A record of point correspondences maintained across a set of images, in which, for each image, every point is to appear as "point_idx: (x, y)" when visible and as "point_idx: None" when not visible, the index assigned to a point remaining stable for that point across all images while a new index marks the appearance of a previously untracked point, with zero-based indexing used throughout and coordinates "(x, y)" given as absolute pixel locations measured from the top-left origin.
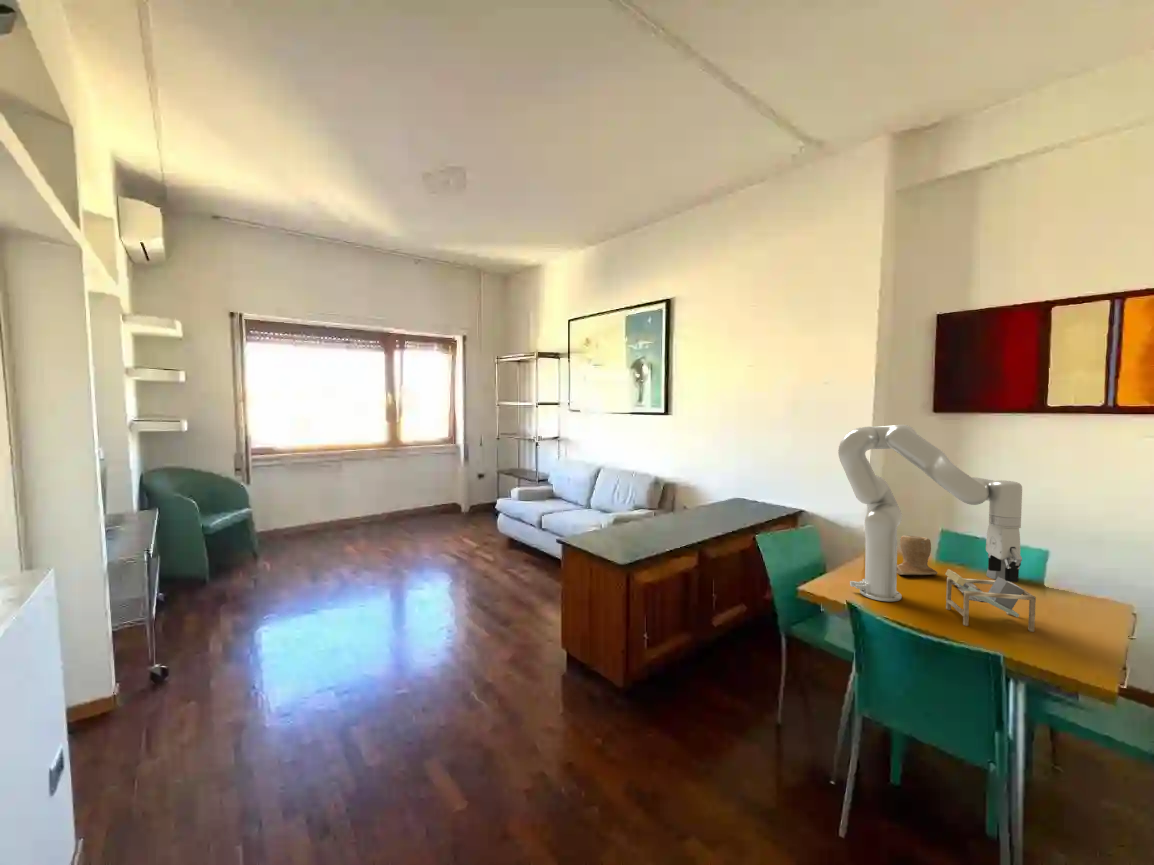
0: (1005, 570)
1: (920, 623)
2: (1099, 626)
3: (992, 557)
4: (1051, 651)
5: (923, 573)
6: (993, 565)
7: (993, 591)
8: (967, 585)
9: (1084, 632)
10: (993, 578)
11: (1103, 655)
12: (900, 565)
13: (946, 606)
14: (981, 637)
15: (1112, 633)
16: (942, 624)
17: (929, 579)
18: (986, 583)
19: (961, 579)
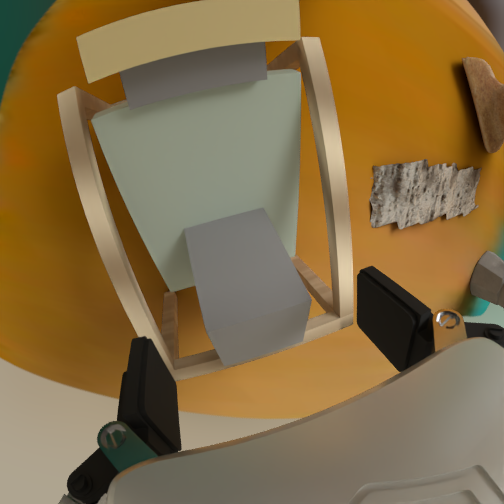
0: (129, 394)
1: (80, 10)
2: (284, 399)
3: (423, 339)
4: (54, 309)
5: (478, 112)
6: (379, 310)
7: (239, 241)
8: (127, 99)
9: (233, 383)
10: (479, 260)
11: (110, 386)
12: (488, 69)
13: None
14: (39, 160)
15: (253, 410)
16: None
17: (467, 123)
18: (329, 227)
19: (84, 53)
